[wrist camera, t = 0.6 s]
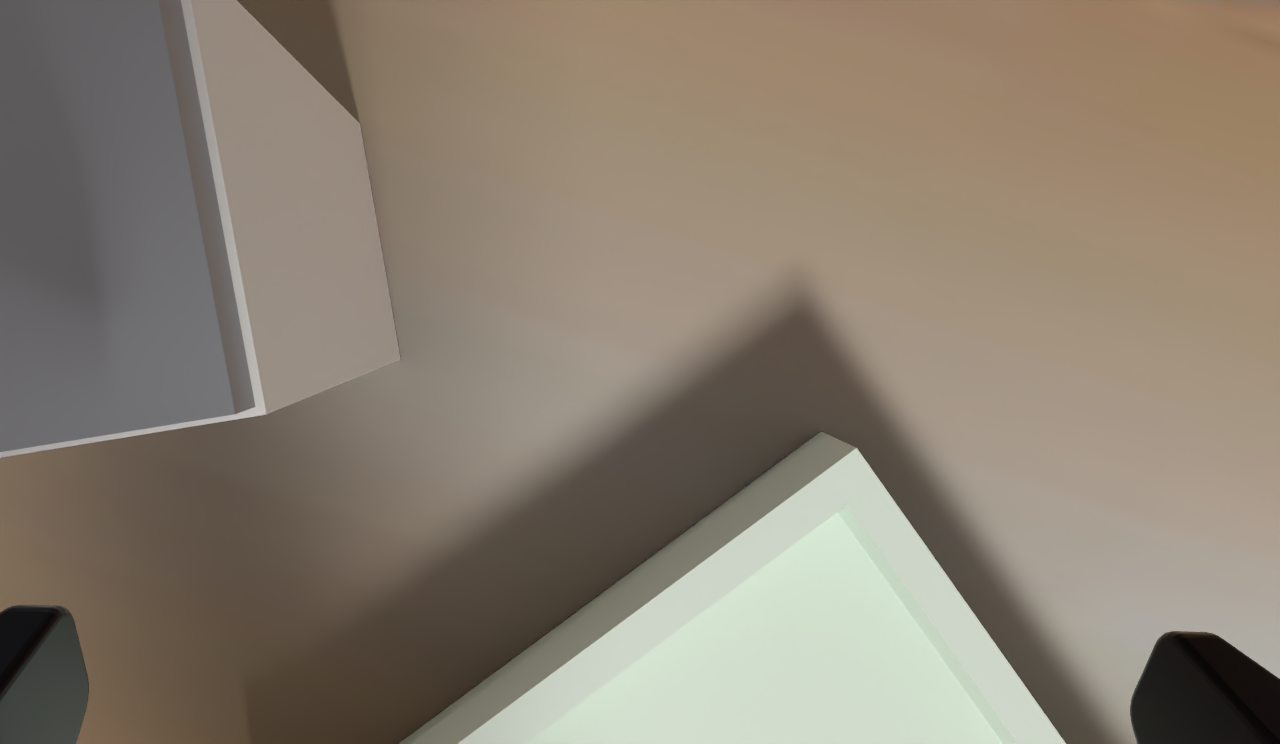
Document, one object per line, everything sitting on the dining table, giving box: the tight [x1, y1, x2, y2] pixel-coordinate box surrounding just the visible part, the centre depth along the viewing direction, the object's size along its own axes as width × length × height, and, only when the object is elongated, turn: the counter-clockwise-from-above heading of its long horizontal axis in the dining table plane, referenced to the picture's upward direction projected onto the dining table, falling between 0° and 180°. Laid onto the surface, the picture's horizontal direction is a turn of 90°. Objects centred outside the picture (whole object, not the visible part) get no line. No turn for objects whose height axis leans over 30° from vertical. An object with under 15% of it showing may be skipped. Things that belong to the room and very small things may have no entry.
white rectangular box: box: [0, 0, 401, 458], centre depth 17 cm, size 5×5×12 cm
